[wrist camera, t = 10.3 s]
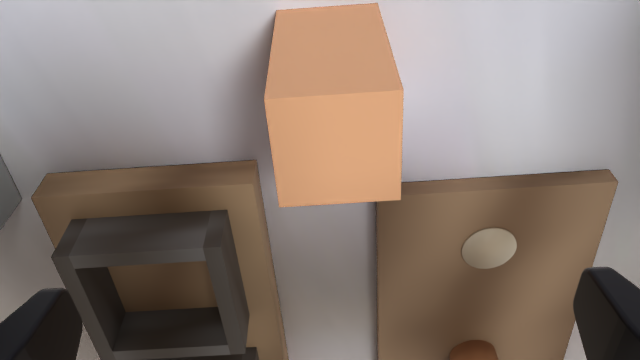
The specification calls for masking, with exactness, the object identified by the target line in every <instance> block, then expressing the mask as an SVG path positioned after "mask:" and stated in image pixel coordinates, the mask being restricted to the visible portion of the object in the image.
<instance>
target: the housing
mask: <svg viewBox="0 0 640 360" xmlns="http://www.w3.org/2000/svg"><path fill="white" fill-rule="evenodd" d="M21 199H22V198H21V196H20V194H19V192H18V190H17V188H16V186H15V184H14V182H13V180H12V178H11V176H10V174H9V172H8V170H7V168H6V166H5V164H4V162H3V160H2V157H1V155H0V230H1V229H2V227H3V226H4V224H5V223H6V221H7V220H8V218H9V217H10V216H11V214H12V213H13V211H14V210H15V208H16V207H17V205H18V204H19V202H20V201H21Z"/></svg>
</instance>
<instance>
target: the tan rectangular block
mask: <svg viewBox="0 0 640 360" xmlns="http://www.w3.org/2000/svg"><path fill="white" fill-rule="evenodd" d="M264 103H265V110H266V117H267V124H268V131H269V138H270V146H271V153H272V160H273V167H274V174H275V181H276V188H277V195H278V202H279V207H294V206H310V205H327V204H343V203H359V202H375V201H391V200H401V169H402V129H403V87H402V83H401V80H400V77H399V73H398V70H397V67H396V63H395V60H394V57H393V53H392V50H391V47H390V43H389V40H388V37H387V33H386V30H385V27H384V23H383V20H382V17H381V13H380V10H379V7H378V3H370V4H356V5H342V6H328V7H314V8H300V9H286V10H277V11H276V18H275V25H274V32H273V39H272V46H271V53H270V60H269V67H268V74H267V81H266V88H265V95H264Z"/></svg>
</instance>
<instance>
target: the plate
mask: <svg viewBox="0 0 640 360" xmlns="http://www.w3.org/2000/svg"><path fill="white" fill-rule="evenodd" d="M617 185H618V181H617V179H616V178H615V177H614V175H613V174H612V173H611V171H610V170H594V171H578V172H562V173H546V174H531V175H515V176H499V177H483V178H468V179H452V180H436V181H420V182H405V183H401V200H391V201H376V237H377V349H378V360H563V359H564V355H565V352H566V349H567V346H568V342H569V339H570V336H571V333H572V330H573V326H574V323H575V320H576V319H575V315H574V311H573V300H574V296H575V293H576V289H577V286H578V283H579V280H580V277H581V274H582V272H583V270H584V269H586V268H589V267H592V265H593V262H594V259H595V256H596V252H597V249H598V246H599V243H600V239H601V236H602V233H603V230H604V227H605V223H606V220H607V217H608V214H609V210H610V207H611V204H612V201H613V198H614V194H615V191H616V188H617Z"/></svg>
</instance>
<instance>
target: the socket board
mask: <svg viewBox="0 0 640 360" xmlns="http://www.w3.org/2000/svg"><path fill="white" fill-rule="evenodd" d="M31 199H32V201H33V203H34V205H35V207H36V209H37V211H38V214H39V216H40V218H41V220H42V222H43V224H44V226H45V228H46V230H47V233H48V235H49V237H50V239H51V241H52V243H53V245H54V247H55V251H54V253H53V255H52V257H51V258H52V260H53V262H54V264H55V266H56V268H57V270H58V273H59V275H60V277H61V279H62V281H63V283H64V285H65V287H66V289H67V290H68V291H69V293H70V295H71V297H72V299H73V301H74V303H75V305H76V307H77V309H78V311H79V314H80V316H81V318H82V322H83V324H84V326H85V328H86V330H87V332H88V334H89V336H90V338H91V340H92V343H93V345H94V347H95V349H96V351H97V353H98V355H99V357H100V359H101V360H289V359H288V353H287V347H286V340H285V334H284V328H283V322H282V316H281V310H280V303H279V297H278V291H277V285H276V279H275V273H274V266H273V260H272V254H271V248H270V242H269V236H268V229H267V223H266V217H265V211H264V205H263V199H262V192H261V186H260V180H259V174H258V168H257V162H256V160H248V161H233V162H217V163H202V164H187V165H171V166H156V167H141V168H125V169H110V170H94V171H79V172H64V173H48V174H46V176H45V177H44V179H43V180H42V182H41V183H40V185H39V186H38V188H37V190H36V191H35V193H34V194H33V196H32V197H31Z"/></svg>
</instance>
